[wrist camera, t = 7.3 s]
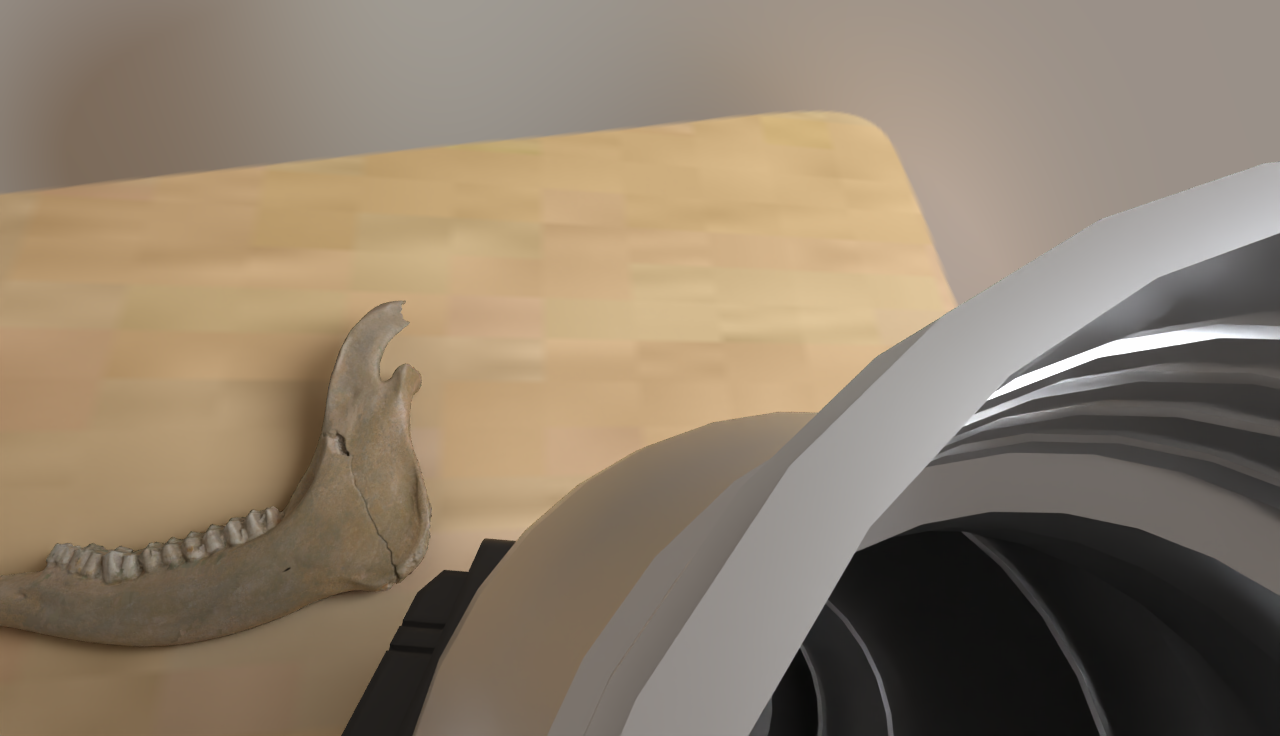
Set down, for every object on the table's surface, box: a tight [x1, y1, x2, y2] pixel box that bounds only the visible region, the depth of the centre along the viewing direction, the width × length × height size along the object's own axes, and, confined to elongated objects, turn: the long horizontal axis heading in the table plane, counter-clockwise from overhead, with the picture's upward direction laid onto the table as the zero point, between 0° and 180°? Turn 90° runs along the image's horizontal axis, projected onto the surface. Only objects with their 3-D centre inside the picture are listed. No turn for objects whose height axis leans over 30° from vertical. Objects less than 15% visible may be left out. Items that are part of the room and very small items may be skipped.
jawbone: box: [0, 301, 432, 646], centre depth 21 cm, size 9×20×2 cm, turn 123°
